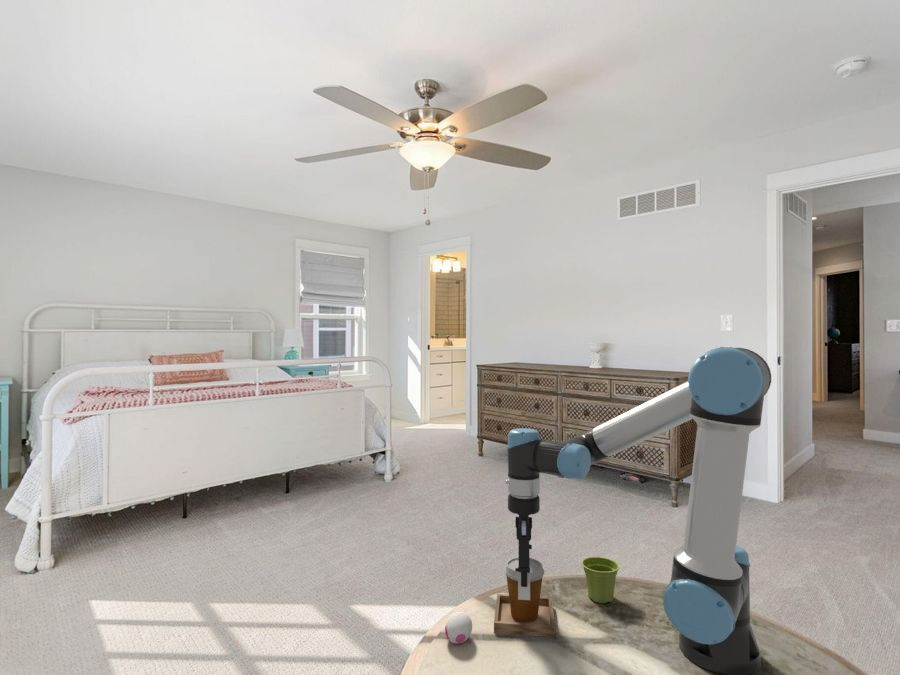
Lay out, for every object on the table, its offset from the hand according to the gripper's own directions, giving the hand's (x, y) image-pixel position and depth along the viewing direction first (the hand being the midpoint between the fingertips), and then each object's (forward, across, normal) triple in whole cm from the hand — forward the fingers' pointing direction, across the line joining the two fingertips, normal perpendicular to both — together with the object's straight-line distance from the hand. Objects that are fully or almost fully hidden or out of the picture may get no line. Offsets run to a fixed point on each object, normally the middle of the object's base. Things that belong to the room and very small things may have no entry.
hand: (524, 587), depth 119 cm
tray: (+7, 0, 0) cm, 7 cm away
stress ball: (+8, +11, -15) cm, 20 cm away
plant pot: (+8, -13, +20) cm, 25 cm away
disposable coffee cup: (+7, 0, 0) cm, 7 cm away
